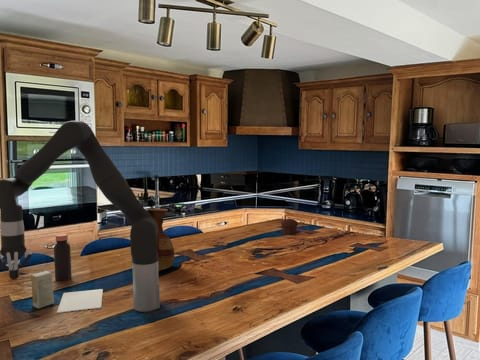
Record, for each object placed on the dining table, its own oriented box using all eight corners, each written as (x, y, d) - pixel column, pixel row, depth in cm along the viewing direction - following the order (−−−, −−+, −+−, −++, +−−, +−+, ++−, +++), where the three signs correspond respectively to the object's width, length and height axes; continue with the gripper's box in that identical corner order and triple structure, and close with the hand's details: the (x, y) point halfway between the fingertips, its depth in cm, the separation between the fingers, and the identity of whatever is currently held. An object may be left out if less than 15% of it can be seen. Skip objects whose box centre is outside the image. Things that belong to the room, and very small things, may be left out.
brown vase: (182, 269, 197) (181, 207, 195) (147, 279, 183) (145, 213, 180) (158, 261, 211) (157, 203, 208) (123, 270, 196) (122, 208, 194)
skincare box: (49, 301, 158) (47, 270, 157) (54, 303, 155) (53, 272, 154) (31, 306, 153) (30, 274, 152) (37, 309, 150) (35, 276, 149)
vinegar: (68, 275, 189) (66, 232, 187) (74, 278, 184) (72, 234, 182) (52, 278, 184) (50, 235, 182) (58, 282, 179) (56, 237, 177)
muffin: (280, 235, 270) (280, 220, 269) (281, 231, 281) (281, 217, 280) (298, 235, 268) (298, 220, 267) (298, 232, 279) (298, 217, 278)
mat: (102, 289, 169) (102, 288, 169) (101, 308, 150) (101, 307, 150) (63, 293, 165) (63, 292, 165) (56, 313, 146) (56, 312, 146)
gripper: (-12, 236, 143) (-9, 284, 145) (30, 233, 147) (32, 280, 149) (-6, 231, 150) (-3, 277, 152) (34, 229, 154) (36, 274, 156)
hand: (14, 279), depth 150 cm, fingers closed
